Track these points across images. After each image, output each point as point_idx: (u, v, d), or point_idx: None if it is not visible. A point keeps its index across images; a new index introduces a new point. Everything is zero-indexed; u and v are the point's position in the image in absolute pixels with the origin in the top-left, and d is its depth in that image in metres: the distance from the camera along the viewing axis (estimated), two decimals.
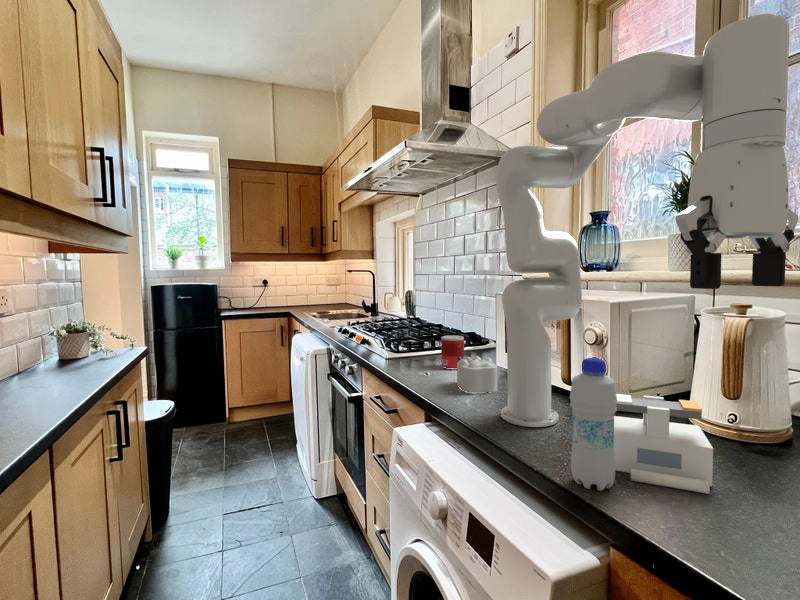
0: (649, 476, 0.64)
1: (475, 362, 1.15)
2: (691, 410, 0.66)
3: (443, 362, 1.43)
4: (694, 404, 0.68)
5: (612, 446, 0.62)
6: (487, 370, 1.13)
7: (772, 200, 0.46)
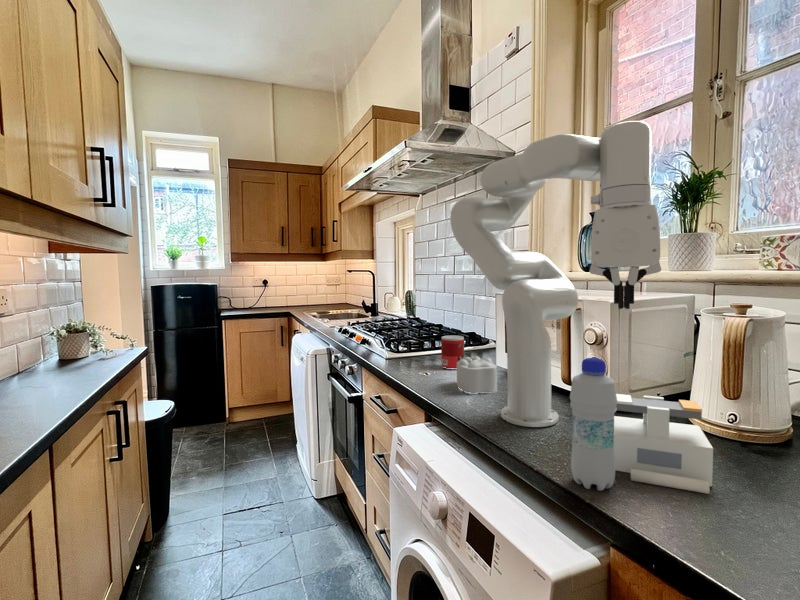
0: (649, 476, 0.64)
1: (475, 362, 1.15)
2: (691, 410, 0.66)
3: (443, 362, 1.43)
4: (694, 404, 0.68)
5: (612, 446, 0.62)
6: (486, 370, 1.13)
7: None
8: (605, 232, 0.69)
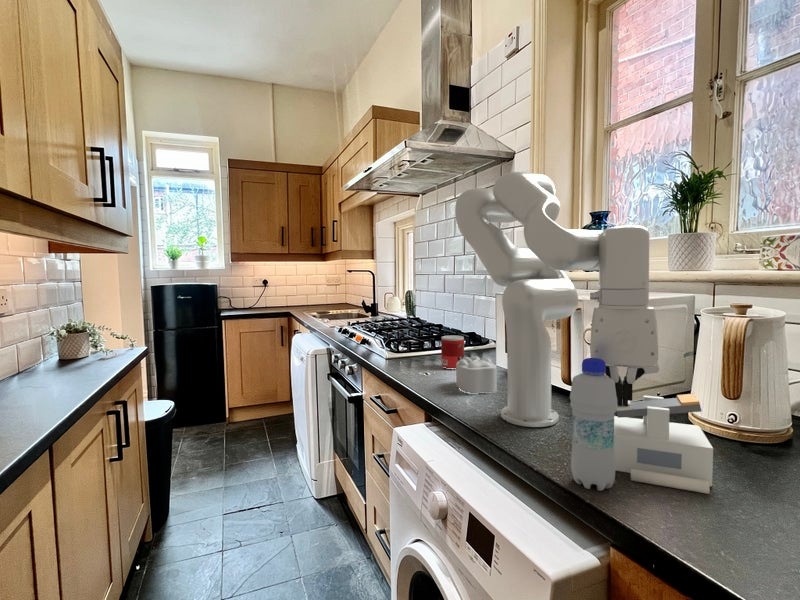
0: (649, 476, 0.64)
1: (474, 362, 1.15)
2: (689, 403, 0.66)
3: (443, 362, 1.43)
4: (692, 397, 0.68)
5: (612, 446, 0.62)
6: (486, 370, 1.13)
7: None
8: (604, 331, 0.70)
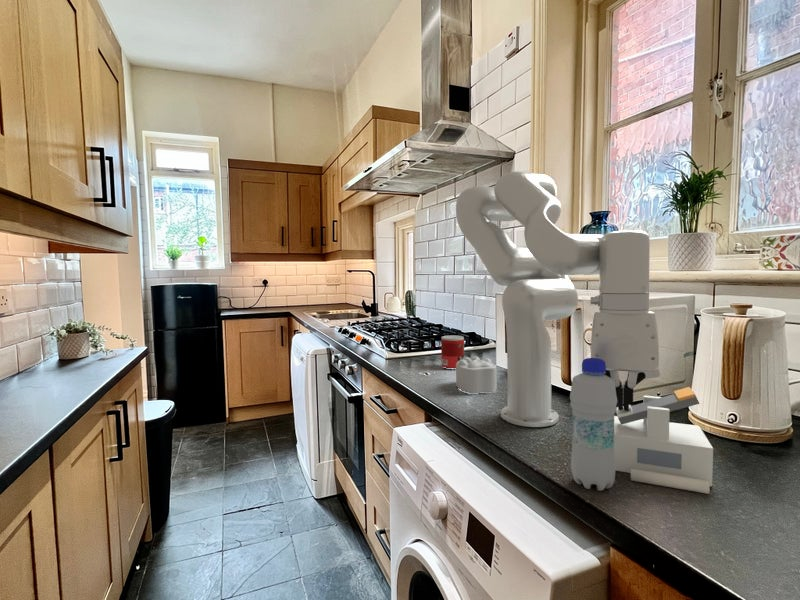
0: (649, 476, 0.64)
1: (474, 362, 1.14)
2: (686, 398, 0.66)
3: (443, 362, 1.43)
4: (687, 390, 0.68)
5: (612, 446, 0.62)
6: (486, 370, 1.13)
7: None
8: (604, 336, 0.70)
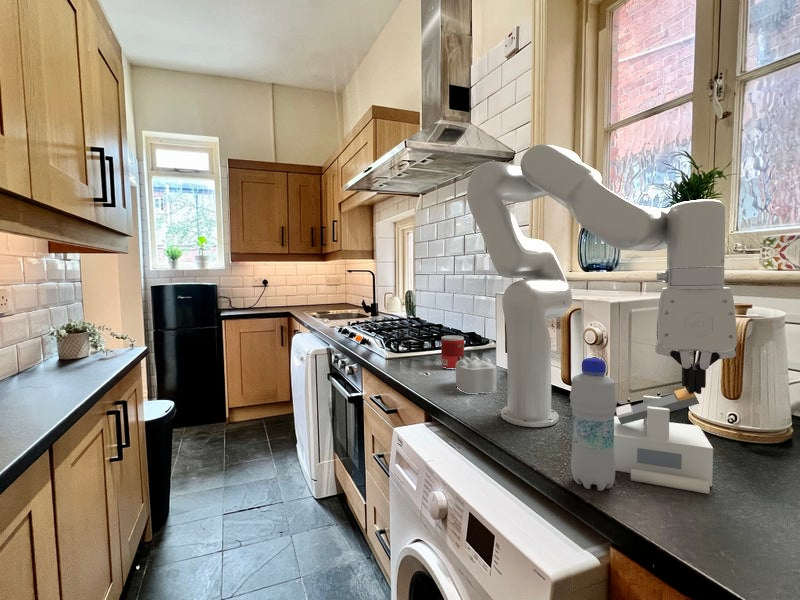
0: (649, 476, 0.64)
1: (474, 362, 1.14)
2: (686, 398, 0.66)
3: (443, 362, 1.43)
4: None
5: (612, 446, 0.62)
6: (486, 370, 1.13)
7: None
8: (675, 314, 0.65)
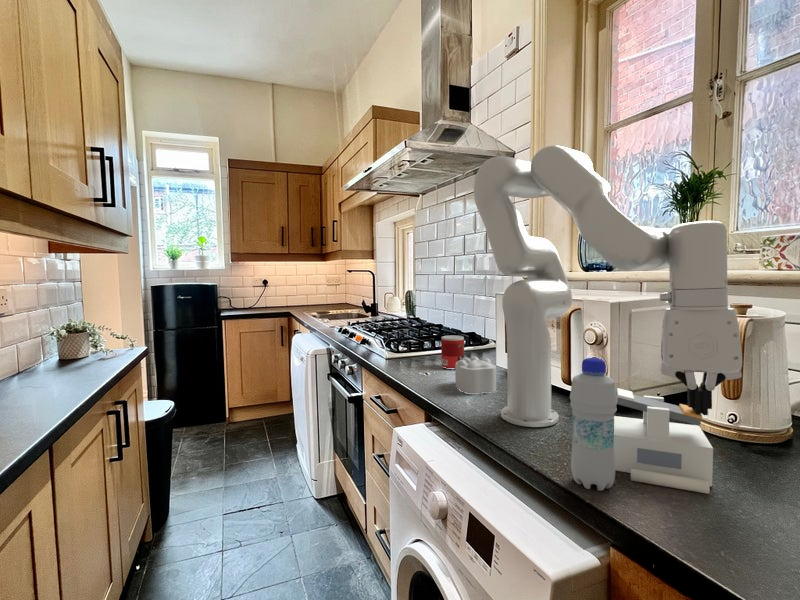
0: (649, 476, 0.64)
1: (474, 363, 1.14)
2: (691, 415, 0.66)
3: (443, 362, 1.43)
4: None
5: (612, 446, 0.62)
6: (486, 371, 1.13)
7: None
8: (680, 335, 0.65)
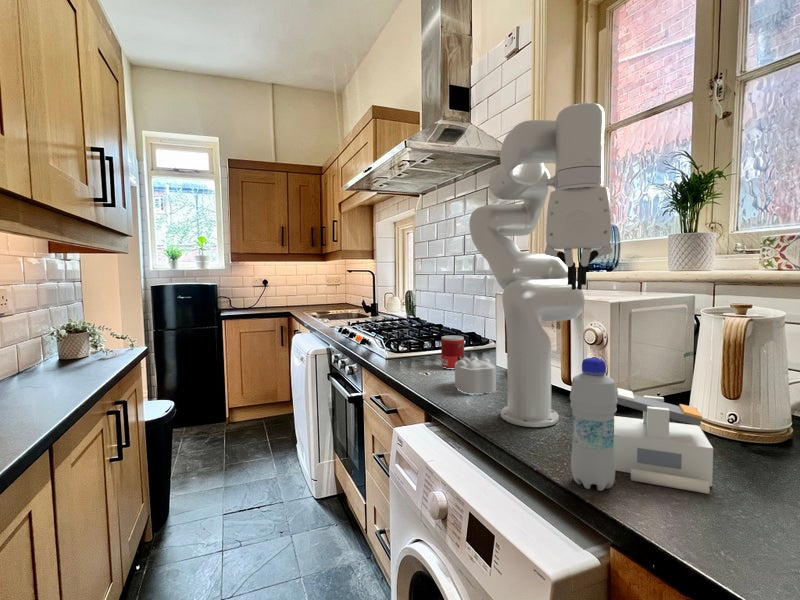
0: (649, 476, 0.64)
1: (474, 363, 1.14)
2: (691, 415, 0.66)
3: (443, 362, 1.43)
4: (695, 410, 0.68)
5: (612, 446, 0.62)
6: (485, 371, 1.13)
7: None
8: (559, 214, 0.69)
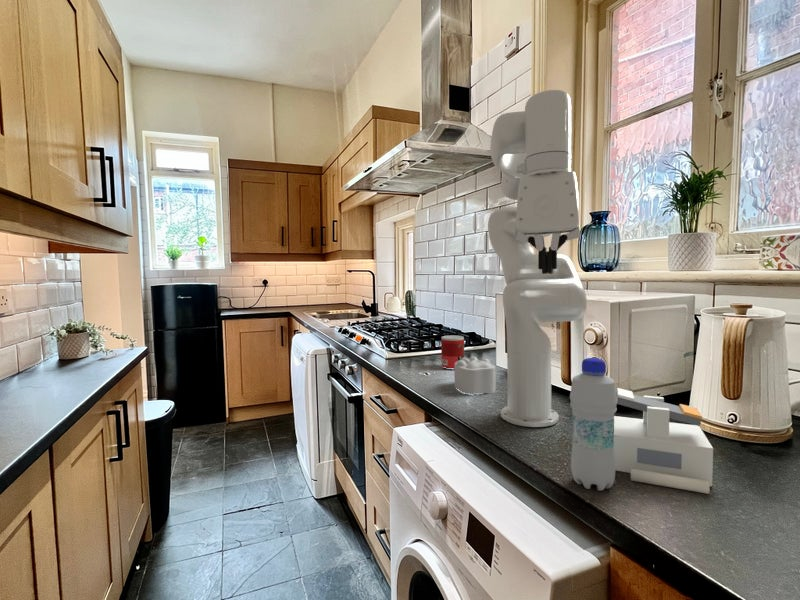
0: (649, 476, 0.64)
1: (473, 363, 1.14)
2: (691, 415, 0.66)
3: (443, 362, 1.43)
4: (695, 410, 0.68)
5: (612, 446, 0.62)
6: (485, 371, 1.12)
7: None
8: (528, 199, 0.71)
